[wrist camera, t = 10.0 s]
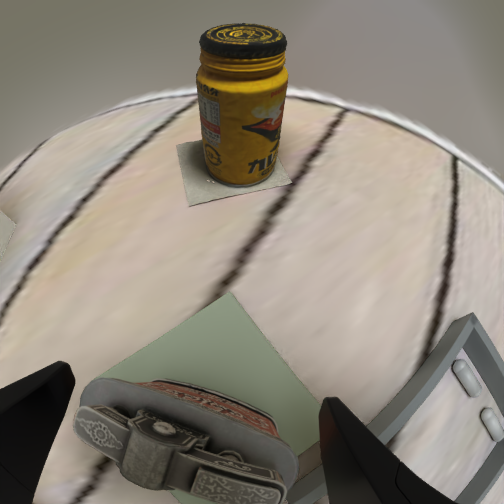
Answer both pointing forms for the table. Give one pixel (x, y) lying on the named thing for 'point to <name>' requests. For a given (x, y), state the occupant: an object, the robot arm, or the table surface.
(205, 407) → the lighter
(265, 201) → the table surface
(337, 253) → the table surface
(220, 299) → the mat
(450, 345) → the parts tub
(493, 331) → the table surface
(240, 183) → the condiment
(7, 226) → the milk
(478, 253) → the table surface
